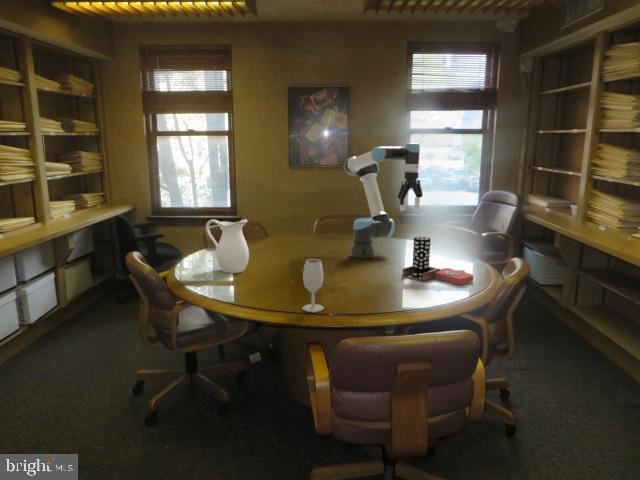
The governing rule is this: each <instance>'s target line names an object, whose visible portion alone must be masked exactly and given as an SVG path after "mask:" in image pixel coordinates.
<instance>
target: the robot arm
mask: <svg viewBox="0 0 640 480" xmlns="http://www.w3.org/2000/svg"><path fill="white" fill-rule="evenodd" d="M420 153H421V152H420V144H419V143H406V144H405V146H375V147H373V148H372V150H371V151H368V152H366V153H363V154H360V155H358V156H351V157H348V158H346V159H345V161H344V163H343V170H344V171H345V173H346V174H347V175H349V176H353V177H358V179H359V181H360V182H362V185H363V188H364V192H365V196H366V200H367V204H368V207H369V212H370V216H371V217H359V218H356V219H355V220H354V221H353V238H352V239H353V244H352V247H351V249H350V252H349V253H350V254H349V255H350V256H349V257H350V258H353V259H359V260H369V259H373V258H375V256H376V252H375V249H374V245H373V239H385V238H390V237H392V236H393V235H394V232H395V229H396V228H395V227H396V225H395V221H394V219H392V218H390V217H389V214H388V213H387V212H386V211H385V208H384V207H385V206H384V204H383V200H382V197H381V196H382V195H381V191H380V189H379V186H378V181H377V177H378V174H379V171H380V165H379V163H380V162H383V161H404V171H405V172H404V179H405V180H401V185H400V189H399V192H398V195H397V198H398V199H400V201H399V205H400V206H399V207H400V208H399V211H400V212H401V211H402V212H405V211H406V197H407V194H408V192H409V191H410V190H411V189H412V191H413V192H414V195H415V196H414V209H417V210H418V209H419V210H420V205H421V204H420V202H421V198H422V197H423V196H424V195H423V190H422V187H421V180H420V179H419V168H420V167H419V163H420Z"/></svg>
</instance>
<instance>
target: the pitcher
mask: <svg viewBox="0 0 640 480" xmlns="http://www.w3.org/2000/svg"><path fill="white" fill-rule="evenodd" d="M247 223H248V219H246V218H244V219H241V220H240V221H237V222H231V221H219V220H217V219H210V220H208V221H207V222H206V224H205V231H206V233H207V234H206V235H207V236H208V237H209V238H210V240H211V241H212V242H213V244H214V246H215V248H216V249H215V251H214V253H215V254H216V260H217V264H218V266H219V268H220V269H221V271H222V272H223V273H226V274H238V273H242V272H244V271H245V269H246V268H247V266H248V263H249V260H250V252H249V251H250V250H249V247H248V244H247V241H246V238H245V236H244V234H243V227H244V226H245V225H246V224H247ZM211 224H215V225H217V226H218V227H219V228H220V231H222V233H221V236H220V239H219V242H217V241H216V239H215V238H214V236H213V235H212V233H211V230H210V225H211Z"/></svg>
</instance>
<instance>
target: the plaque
mask: <svg viewBox="0 0 640 480" xmlns="http://www.w3.org/2000/svg"><path fill="white" fill-rule="evenodd" d="M439 269H440V270H439V271H436V272H435V275H434V278H435V279H438V280H442V281H446V282H448V283H452V284H456V285H464V284H469V283H471V282H473V281H474V274H472V273H467V272H466V271H465V270H463V269H460V270H459V269H452V268H450V267H448V268H447V267H445V268H439Z"/></svg>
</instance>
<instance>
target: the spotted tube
mask: <svg viewBox="0 0 640 480" xmlns="http://www.w3.org/2000/svg"><path fill="white" fill-rule="evenodd" d="M431 240H432V239H431V238H430V237H425V236H415V237H414V238H413V247H412V248H413V252H412V266H413V269H412V276H413V277H416V278H422V273H425V272H428V271H429V267H430V254H431V253H430V252H431Z"/></svg>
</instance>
